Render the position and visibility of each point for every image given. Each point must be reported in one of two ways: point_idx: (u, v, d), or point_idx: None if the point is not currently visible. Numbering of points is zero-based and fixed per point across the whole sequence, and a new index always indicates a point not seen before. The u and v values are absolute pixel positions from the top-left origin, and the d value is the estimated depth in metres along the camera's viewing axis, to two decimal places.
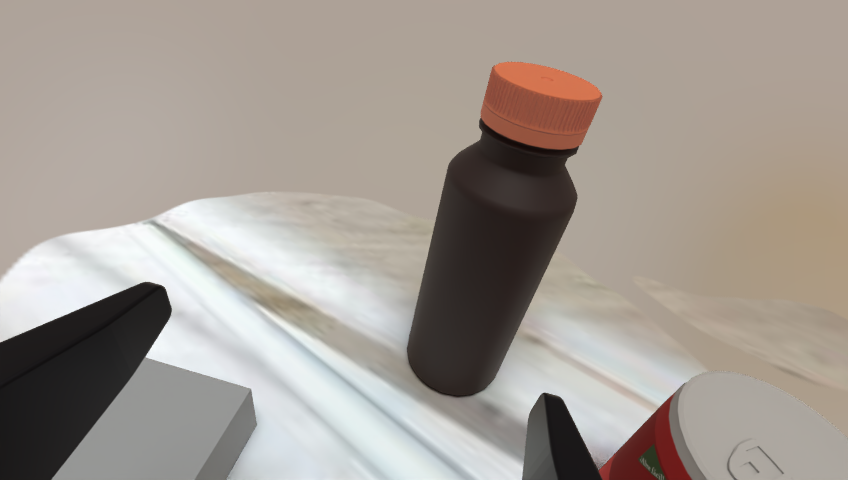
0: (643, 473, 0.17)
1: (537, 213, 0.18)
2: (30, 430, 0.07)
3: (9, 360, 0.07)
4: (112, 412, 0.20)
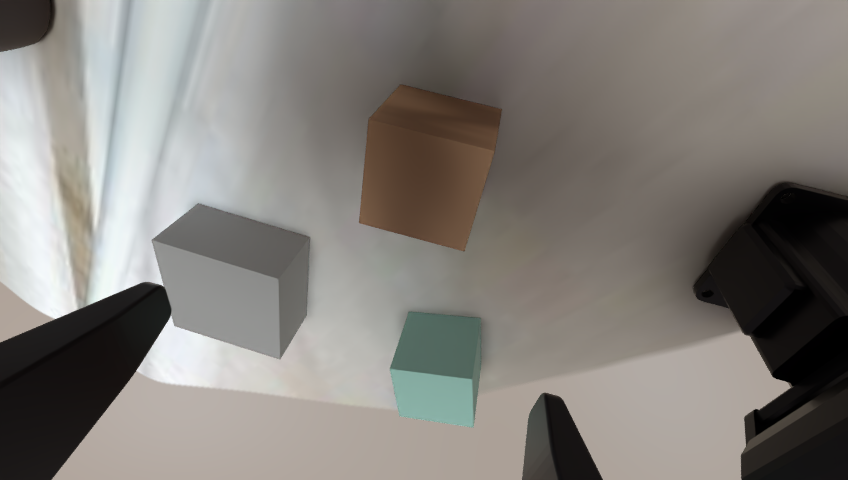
0: None
1: None
2: (30, 430, 0.07)
3: (9, 360, 0.07)
4: (216, 322, 0.24)
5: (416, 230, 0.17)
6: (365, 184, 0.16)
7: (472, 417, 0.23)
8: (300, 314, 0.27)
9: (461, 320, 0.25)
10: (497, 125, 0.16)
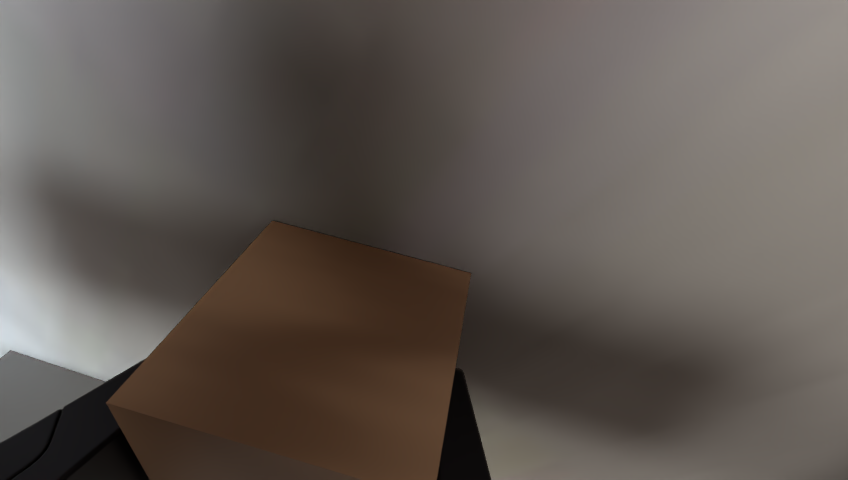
0: None
1: None
2: None
3: None
4: None
5: None
6: None
7: None
8: None
9: None
10: (454, 348, 0.07)
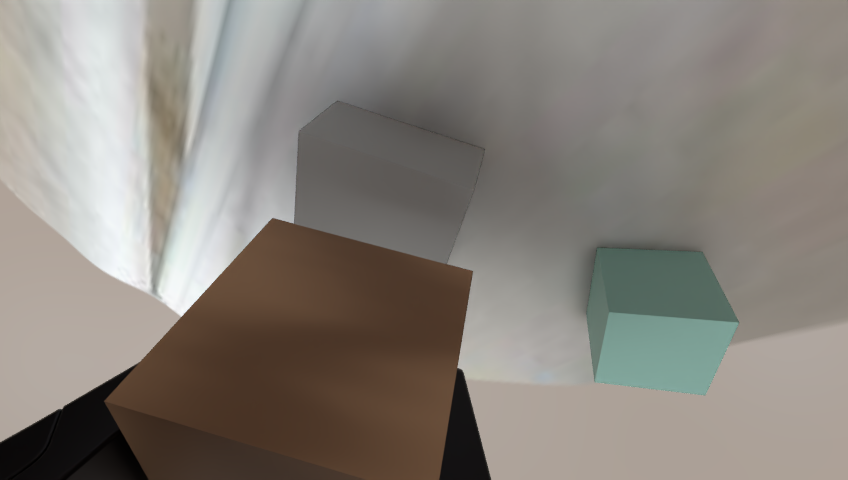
0: None
1: None
2: None
3: None
4: None
5: None
6: None
7: (710, 380, 0.17)
8: None
9: (676, 255, 0.19)
10: (456, 346, 0.07)
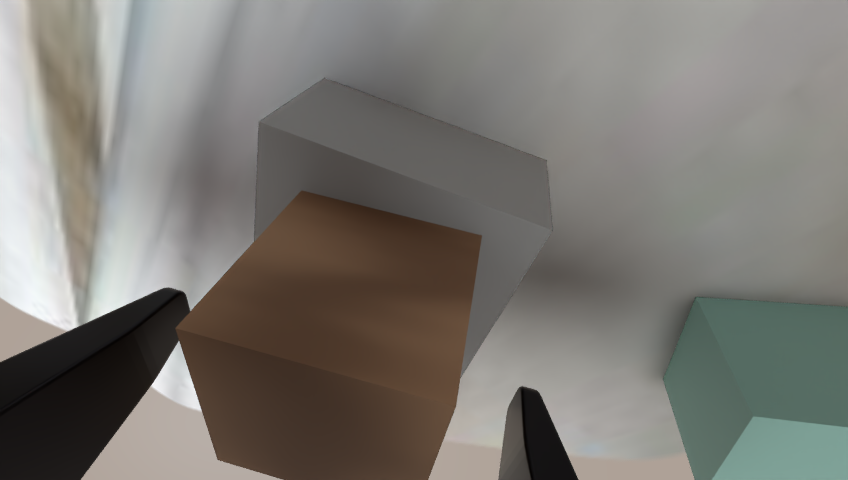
0: None
1: None
2: (56, 438, 0.07)
3: (36, 368, 0.07)
4: None
5: None
6: (208, 417, 0.08)
7: None
8: None
9: (818, 312, 0.13)
10: (469, 294, 0.08)
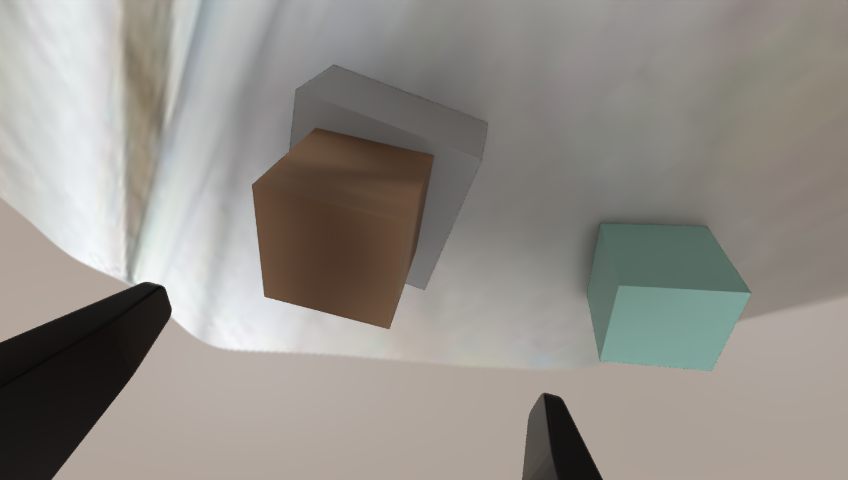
0: None
1: None
2: (30, 430, 0.07)
3: (9, 360, 0.07)
4: None
5: (330, 305, 0.14)
6: (263, 256, 0.13)
7: (717, 355, 0.17)
8: None
9: (681, 229, 0.18)
10: (421, 181, 0.13)
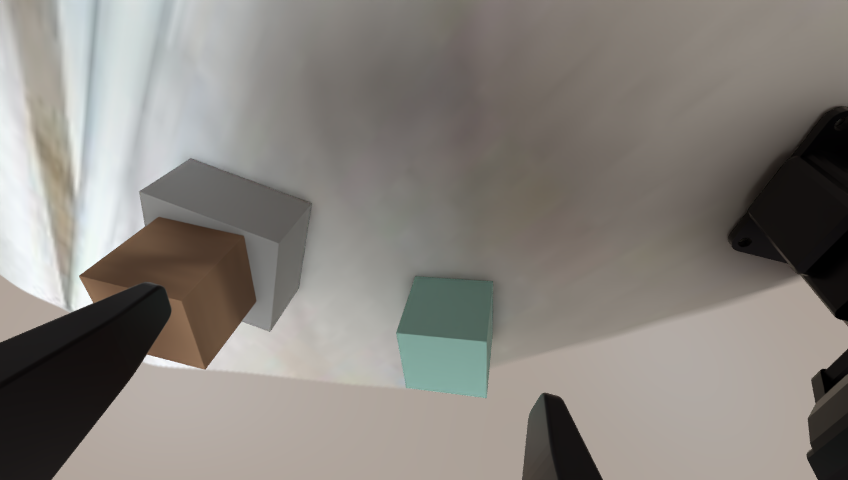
0: None
1: None
2: (30, 430, 0.07)
3: (9, 360, 0.07)
4: None
5: (161, 353, 0.19)
6: None
7: (485, 386, 0.22)
8: (293, 286, 0.25)
9: (472, 284, 0.23)
10: (217, 262, 0.18)
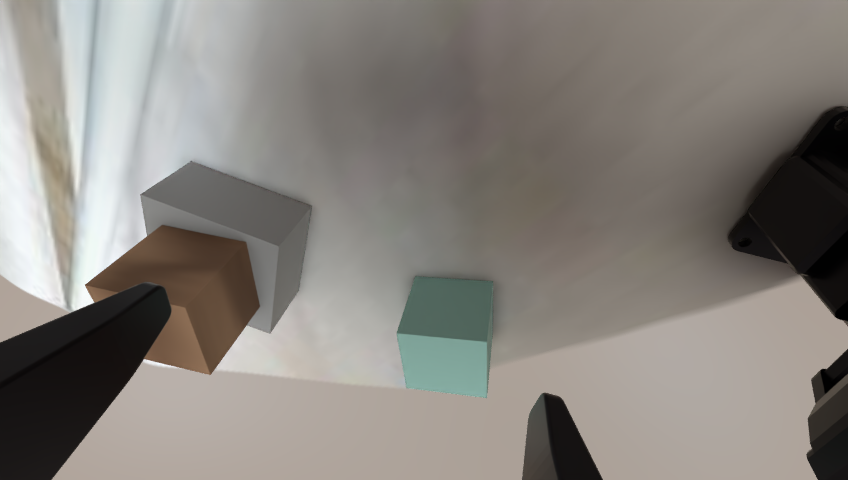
0: None
1: None
2: (30, 430, 0.07)
3: (9, 360, 0.07)
4: None
5: (166, 359, 0.19)
6: None
7: (486, 386, 0.22)
8: (293, 288, 0.25)
9: (472, 284, 0.23)
10: (219, 268, 0.18)
